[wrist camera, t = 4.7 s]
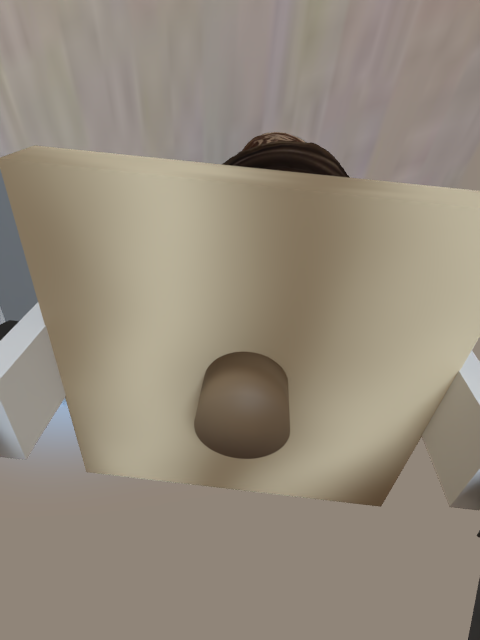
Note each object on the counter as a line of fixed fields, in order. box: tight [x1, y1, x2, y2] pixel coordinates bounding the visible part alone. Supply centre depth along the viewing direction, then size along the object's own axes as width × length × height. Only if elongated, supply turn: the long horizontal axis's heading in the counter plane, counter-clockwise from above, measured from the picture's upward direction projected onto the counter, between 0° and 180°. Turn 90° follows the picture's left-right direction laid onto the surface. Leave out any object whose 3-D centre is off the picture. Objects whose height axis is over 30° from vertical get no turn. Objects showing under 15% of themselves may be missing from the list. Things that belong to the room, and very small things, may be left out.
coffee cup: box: [222, 132, 350, 178], centre depth 22 cm, size 9×8×13 cm
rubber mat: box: [0, 170, 38, 322], centre depth 33 cm, size 16×16×1 cm
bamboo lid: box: [0, 146, 480, 506], centre depth 10 cm, size 11×11×3 cm
